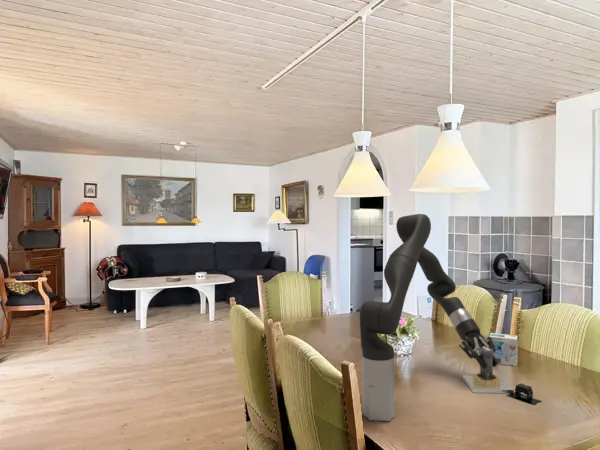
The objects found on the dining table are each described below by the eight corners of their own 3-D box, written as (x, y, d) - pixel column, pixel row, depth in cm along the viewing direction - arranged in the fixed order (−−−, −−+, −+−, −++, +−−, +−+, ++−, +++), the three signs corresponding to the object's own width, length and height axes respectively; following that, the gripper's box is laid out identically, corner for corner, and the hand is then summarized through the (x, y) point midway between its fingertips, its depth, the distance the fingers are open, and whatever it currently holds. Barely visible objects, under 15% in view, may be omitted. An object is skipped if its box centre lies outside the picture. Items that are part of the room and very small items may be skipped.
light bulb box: (488, 362, 173) (487, 336, 173) (489, 358, 179) (489, 332, 179) (517, 366, 168) (517, 339, 168) (518, 361, 174) (517, 335, 174)
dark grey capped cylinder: (496, 378, 147) (495, 349, 147) (485, 379, 146) (484, 350, 146) (487, 373, 151) (487, 345, 151) (476, 374, 150) (476, 347, 150)
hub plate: (513, 393, 141) (513, 382, 141) (472, 392, 143) (472, 380, 143) (499, 379, 154) (499, 369, 154) (462, 378, 156) (462, 368, 156)
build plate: (549, 404, 134) (549, 389, 134) (537, 409, 130) (537, 394, 130) (511, 391, 145) (511, 378, 145) (498, 396, 141) (498, 382, 141)
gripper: (454, 320, 152) (481, 364, 141) (484, 316, 158) (512, 358, 147) (443, 331, 157) (469, 375, 146) (472, 327, 163) (499, 368, 152)
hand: (490, 366), depth 147 cm, fingers closed on dark grey capped cylinder, 4 cm apart
